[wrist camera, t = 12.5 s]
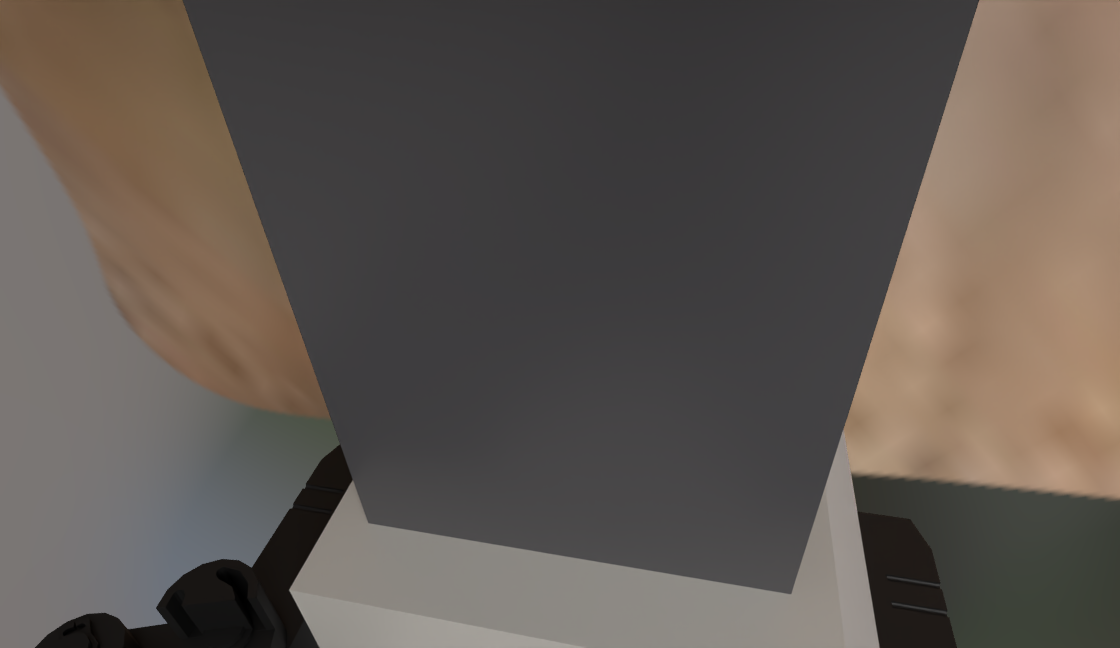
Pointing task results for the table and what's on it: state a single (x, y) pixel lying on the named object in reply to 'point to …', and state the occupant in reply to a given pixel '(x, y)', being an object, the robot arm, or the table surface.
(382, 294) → the plug
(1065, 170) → the table surface
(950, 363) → the table surface
